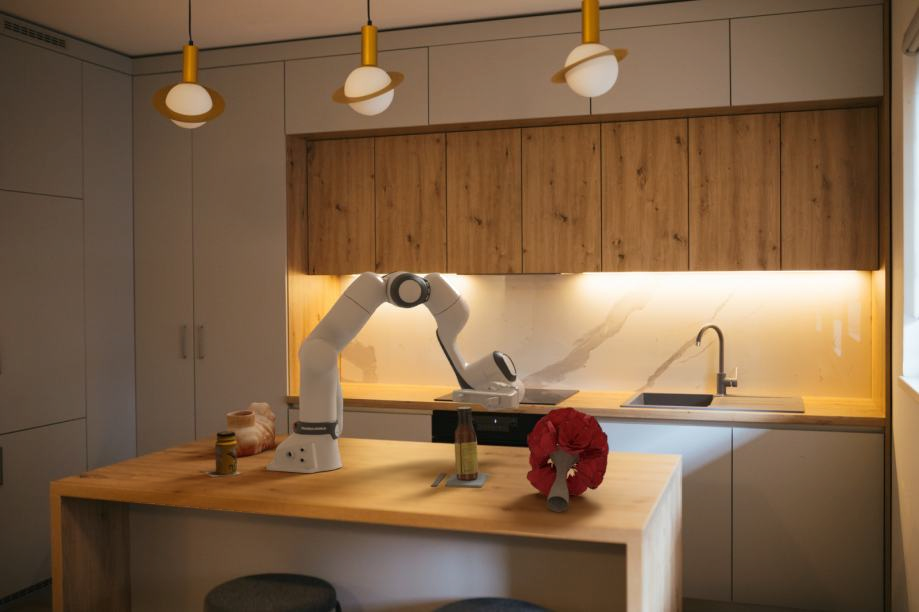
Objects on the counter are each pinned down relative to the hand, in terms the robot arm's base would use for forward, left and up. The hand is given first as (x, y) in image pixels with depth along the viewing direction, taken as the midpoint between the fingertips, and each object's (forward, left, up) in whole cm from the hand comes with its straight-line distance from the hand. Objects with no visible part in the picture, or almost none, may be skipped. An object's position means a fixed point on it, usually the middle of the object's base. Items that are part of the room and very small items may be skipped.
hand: (472, 400), depth 258 cm
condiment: (-72, -14, -21) cm, 76 cm away
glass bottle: (-57, +40, -21) cm, 72 cm away
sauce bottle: (0, -15, -20) cm, 25 cm away
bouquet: (+27, -32, -21) cm, 47 cm away
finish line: (-8, -15, -21) cm, 26 cm away
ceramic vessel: (-78, +21, -21) cm, 83 cm away
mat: (0, -15, -21) cm, 25 cm away
